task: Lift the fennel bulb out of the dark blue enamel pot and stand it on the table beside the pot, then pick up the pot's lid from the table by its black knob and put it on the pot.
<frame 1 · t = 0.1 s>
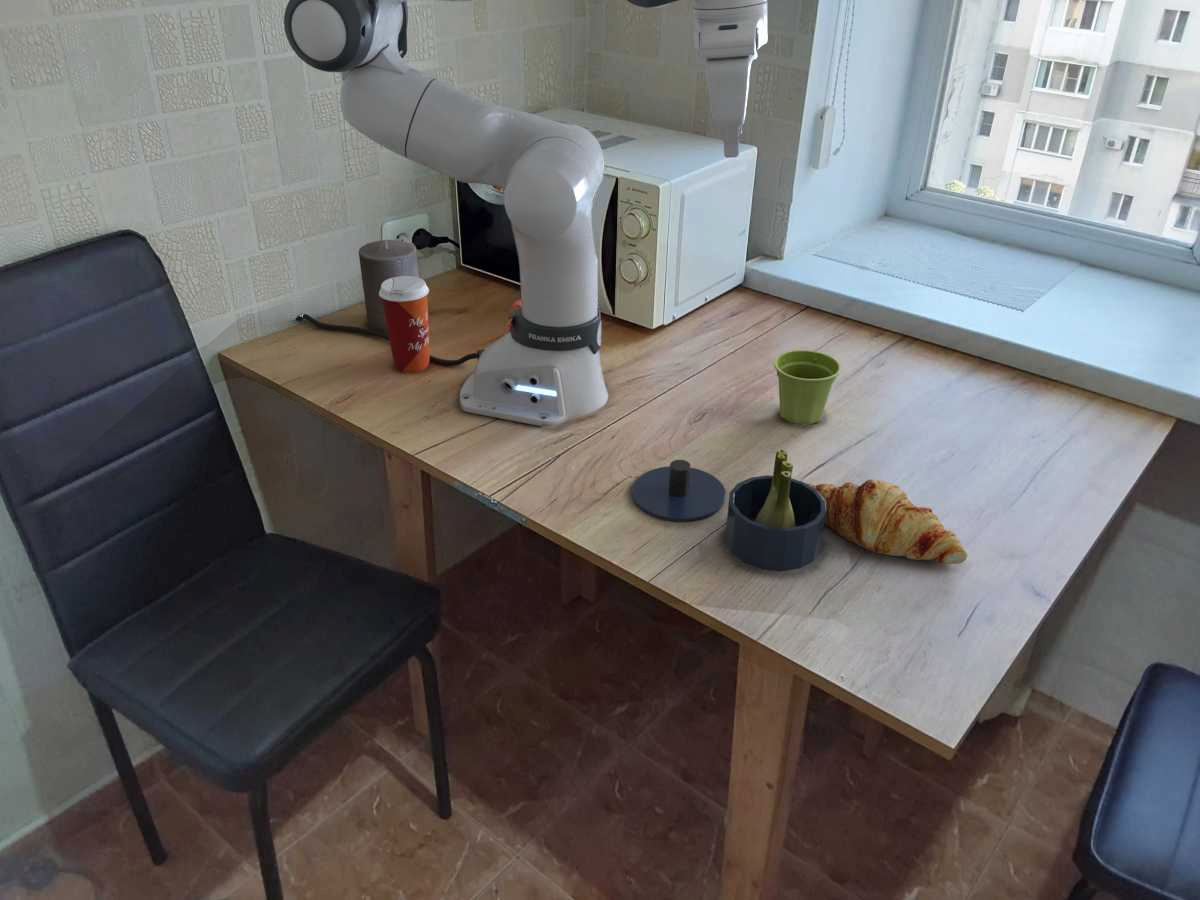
hand: (733, 146, 123), 39 cm above the table, tool pointing down, fingers open, 8 cm apart
pillar candle: (396, 324, 170), on the table
lid: (678, 494, 124), point 1 cm above the table
paper cup: (412, 365, 156), on the table
pot: (771, 544, 116), on the table
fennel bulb: (772, 544, 116), resting on pot
croissant: (877, 538, 117), on the table
plant pot: (800, 417, 142), on the table
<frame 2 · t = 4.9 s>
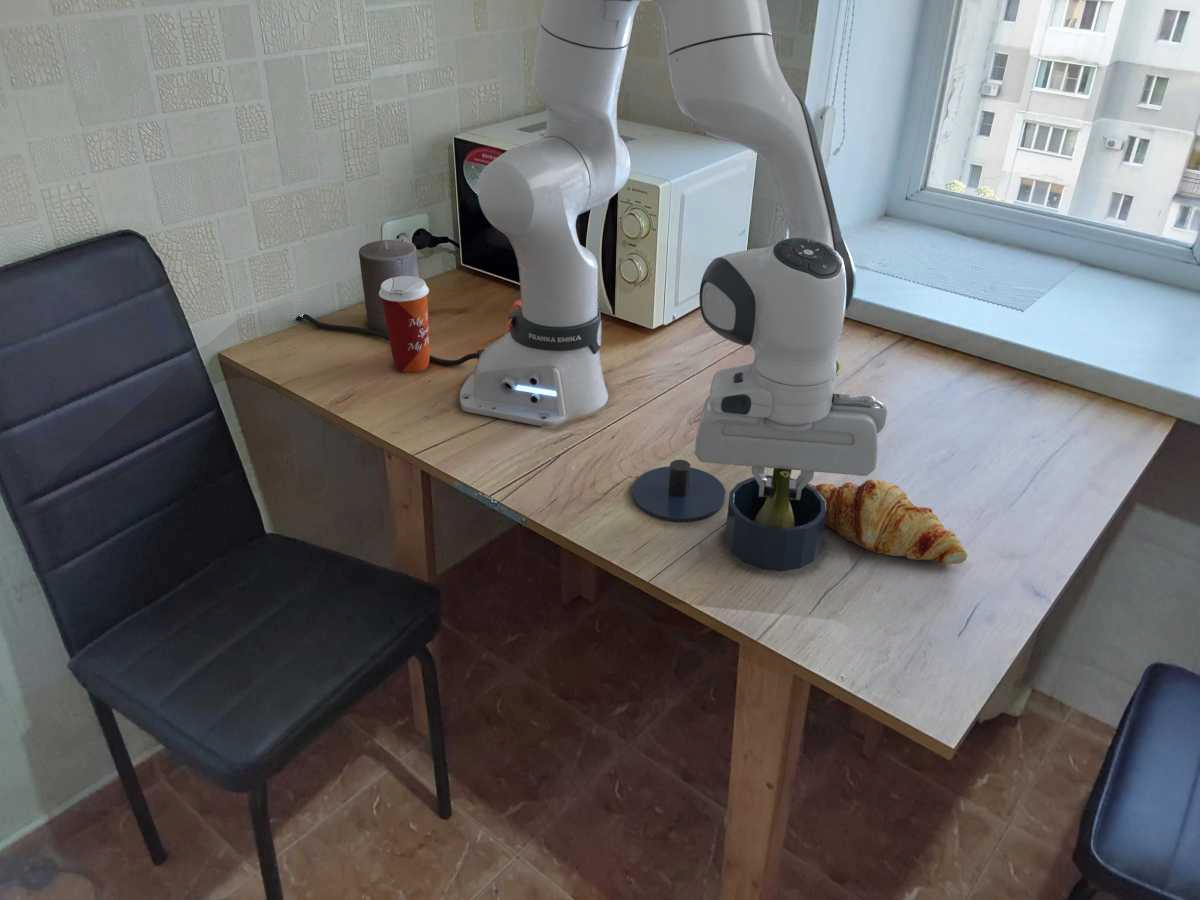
hand: (778, 495, 112), 7 cm above the table, tool pointing down, fingers closed on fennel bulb
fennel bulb: (771, 543, 116), resting on pot, touching gripper
everything else where it was.
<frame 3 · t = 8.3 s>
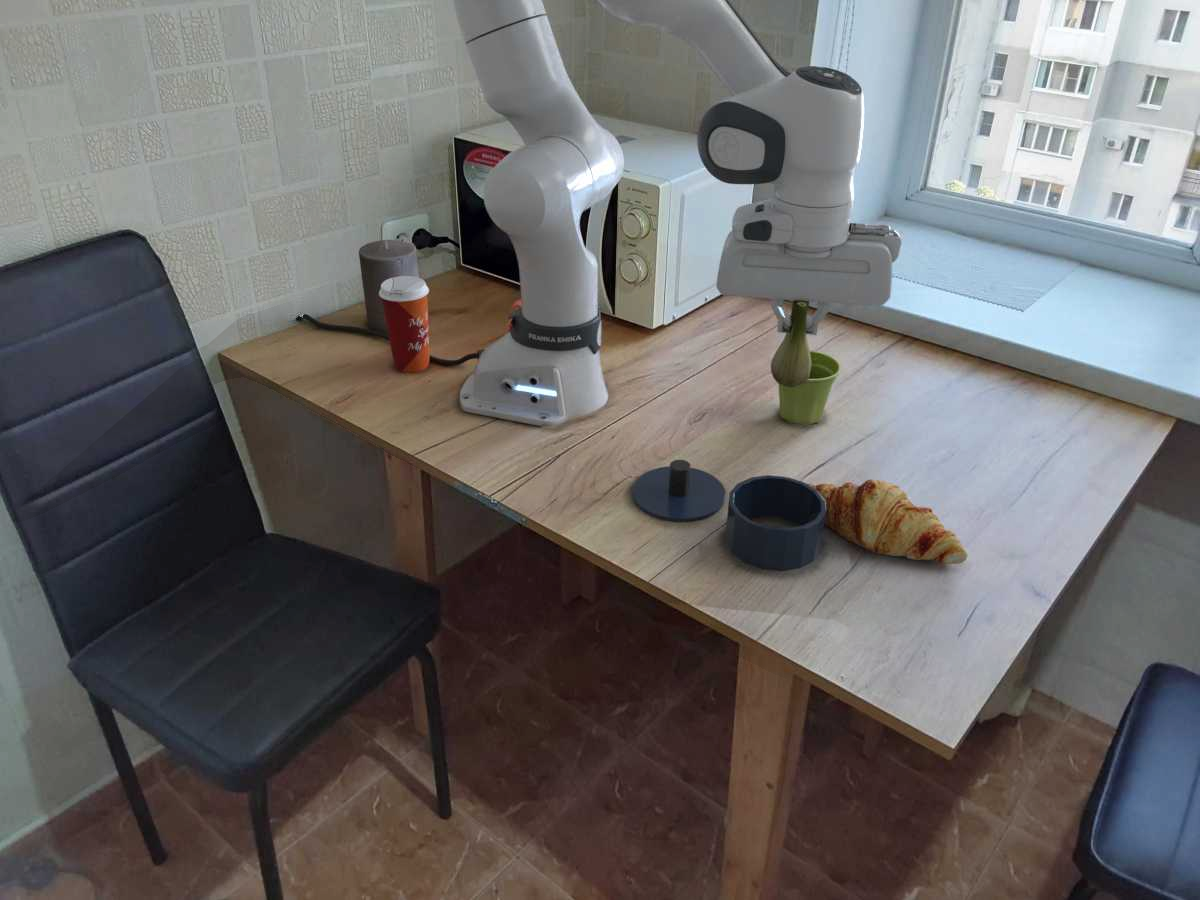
hand: (796, 331, 117), 21 cm above the table, tool pointing down, fingers closed on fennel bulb
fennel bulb: (788, 382, 121), point 14 cm above the table, touching gripper
everything else where it was.
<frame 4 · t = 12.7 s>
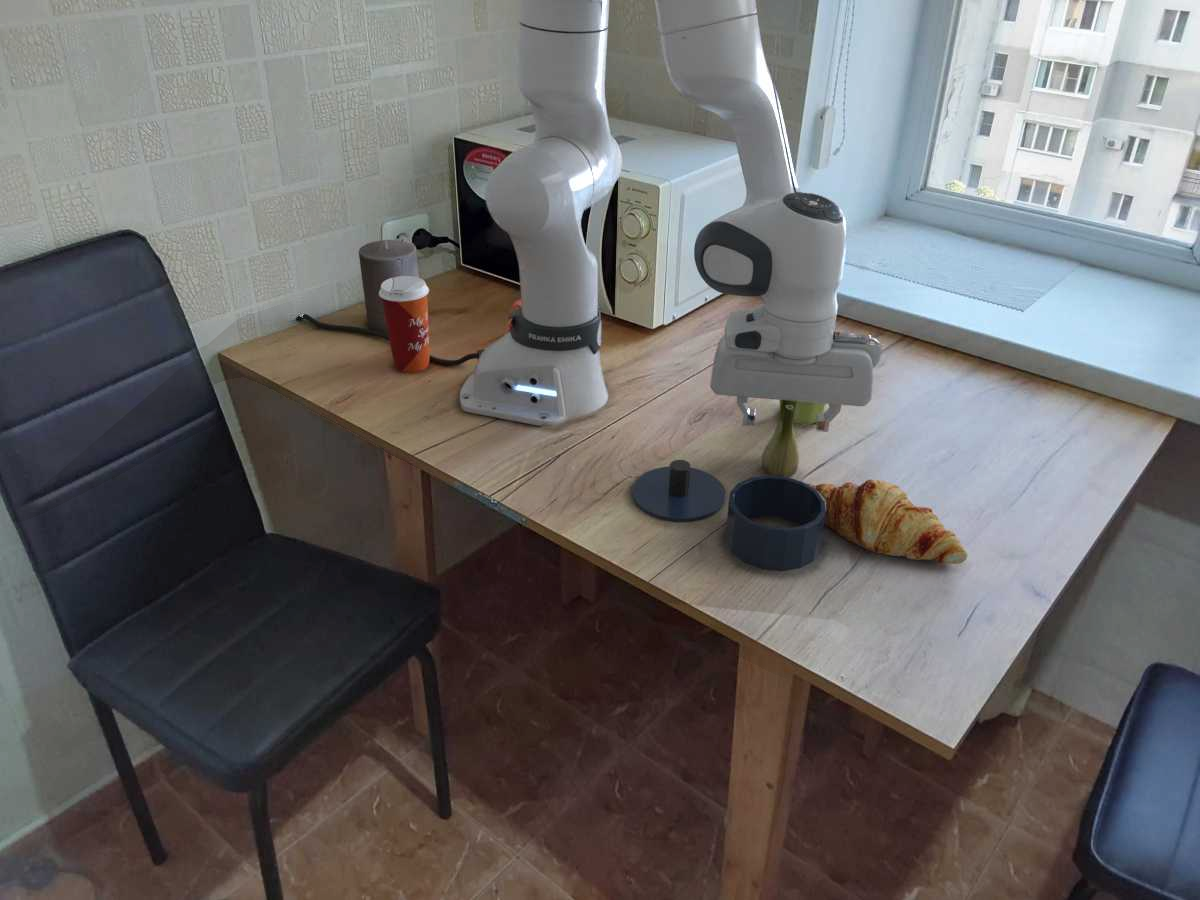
hand: (784, 426, 125), 7 cm above the table, tool pointing down, fingers open, 8 cm apart
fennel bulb: (778, 474, 129), on the table
everything else where it was.
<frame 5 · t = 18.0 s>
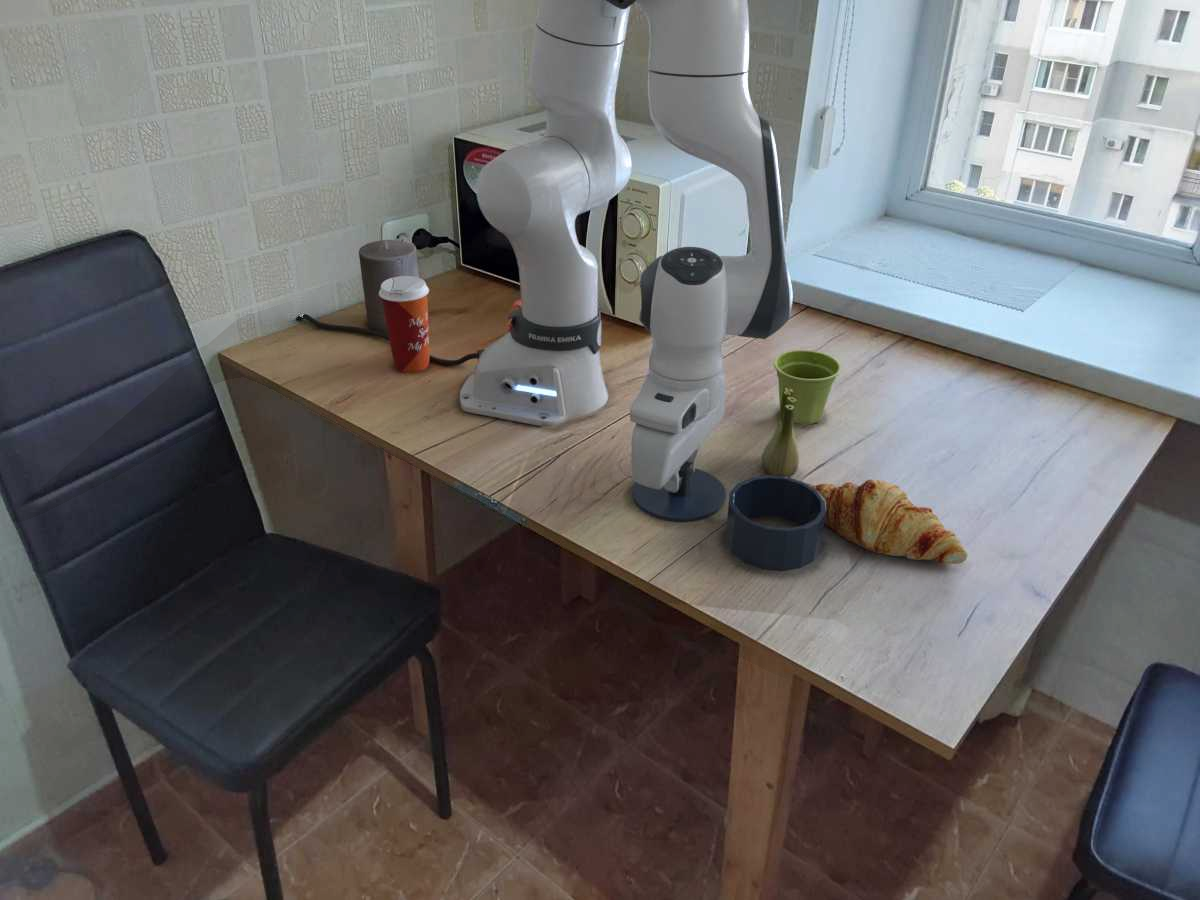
hand: (679, 481, 123), 3 cm above the table, tool pointing down, fingers closed on lid, 2 cm apart
lid: (678, 494, 124), point 1 cm above the table, touching gripper
everything else where it was.
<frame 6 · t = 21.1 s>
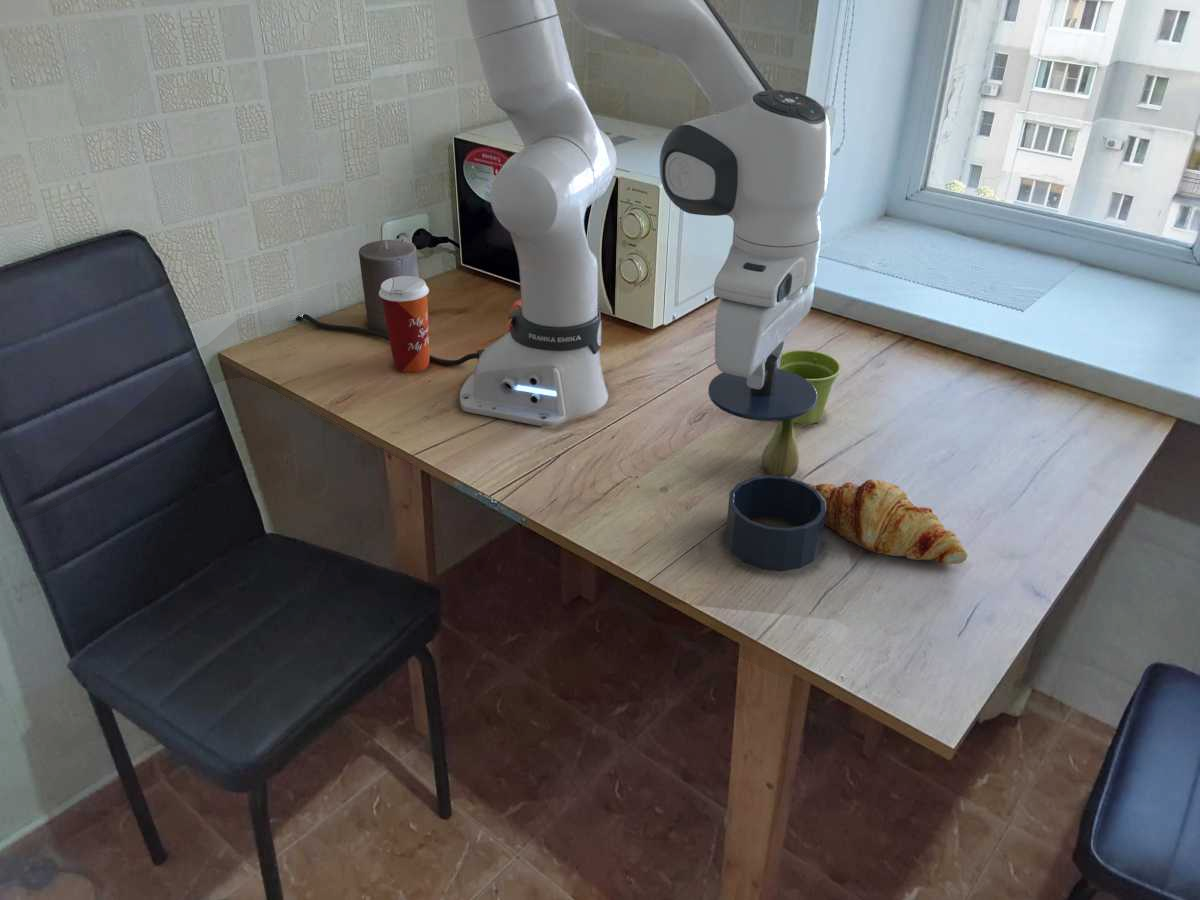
hand: (762, 378, 107), 21 cm above the table, tool pointing down, fingers closed on lid, 2 cm apart
lid: (762, 394, 108), point 19 cm above the table, touching gripper
everything else where it was.
when the fingers open (8 cm above the table, at t = 24.6 s): lid stays where it is, resting on pot.
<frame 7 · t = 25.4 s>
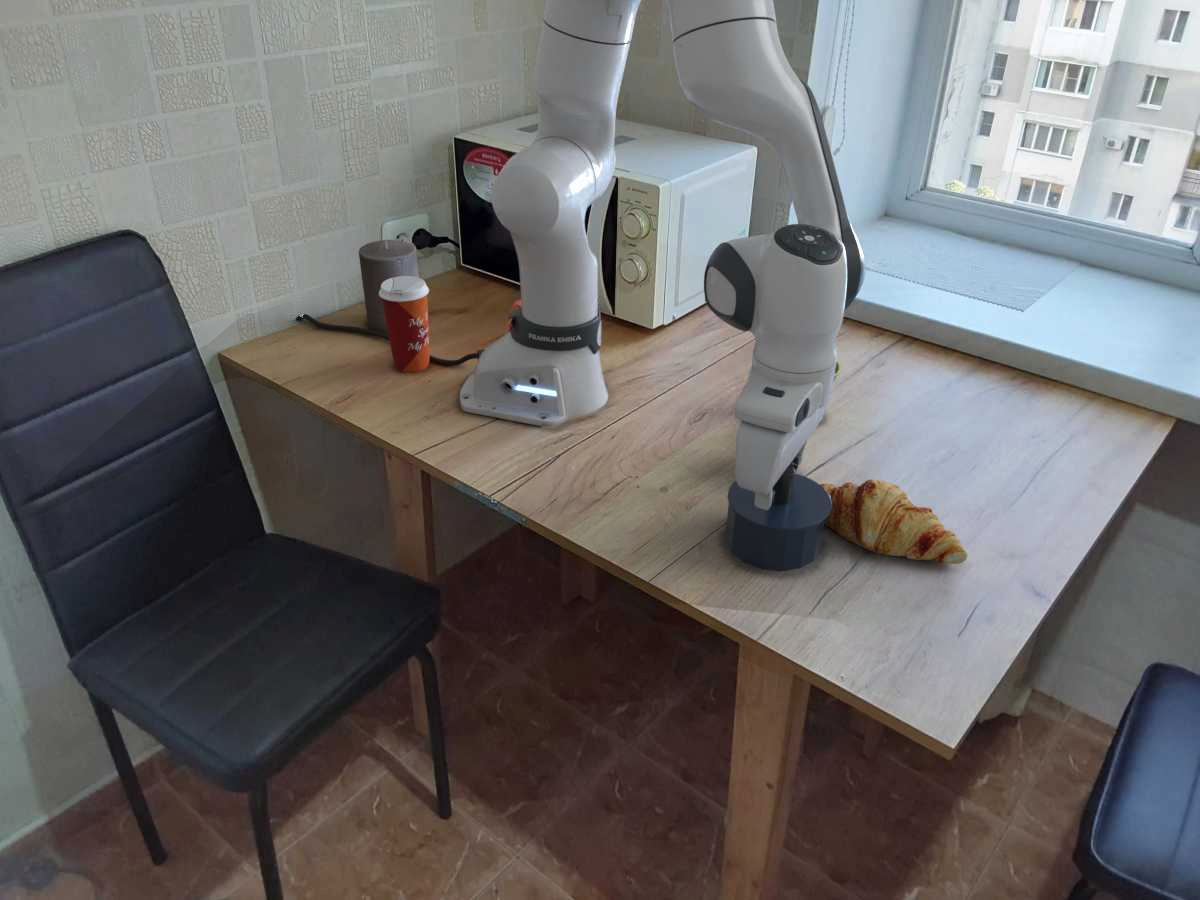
hand: (778, 485, 111), 9 cm above the table, tool pointing down, fingers open, 8 cm apart
lid: (779, 501, 113), point 6 cm above the table, touching pot
everything else where it was.
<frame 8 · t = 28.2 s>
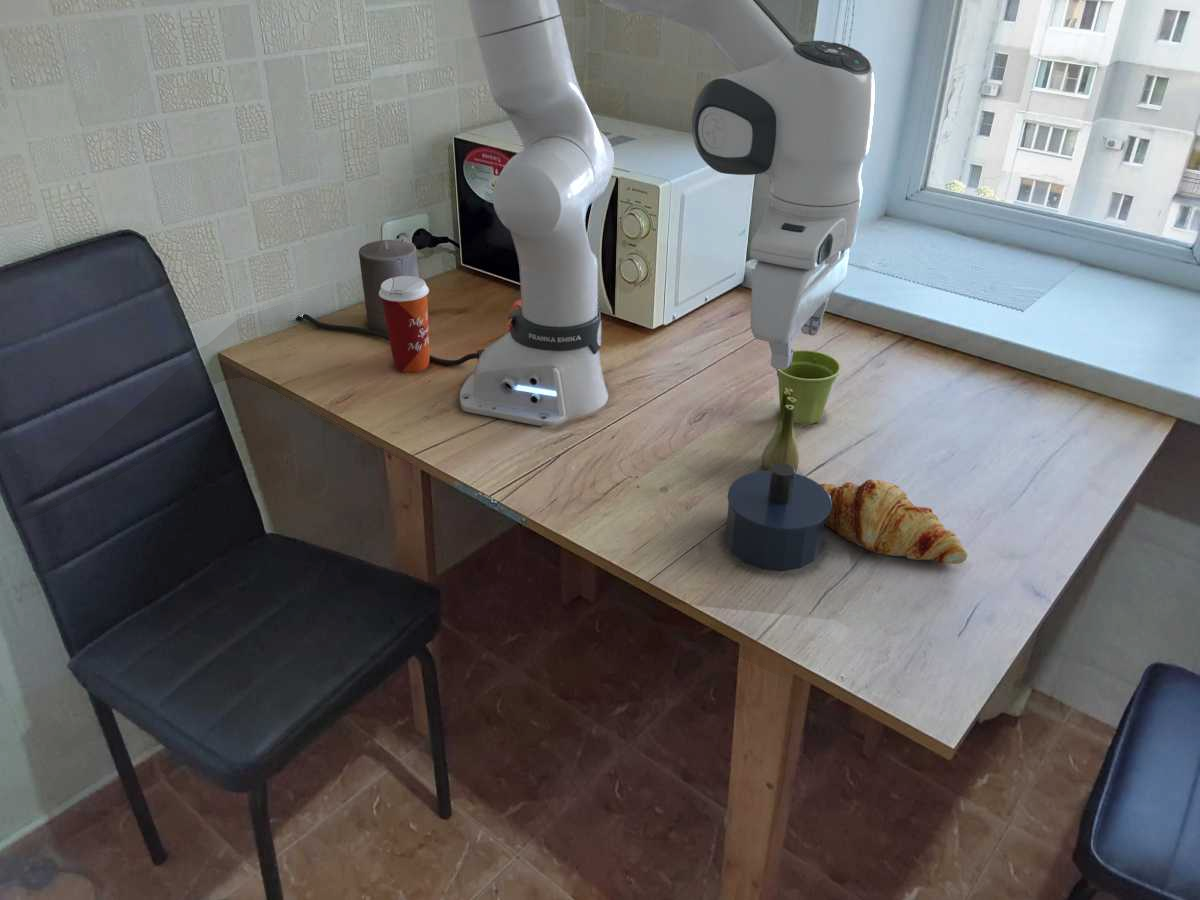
hand: (796, 348, 102), 26 cm above the table, tool pointing down, fingers open, 8 cm apart
nothing on the table moved.
at the end: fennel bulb inside the target area (0.3 cm from its centre), on the table; lid 0.2 cm off-centre on the pot, point 6.3 cm above the pot's base; lid tilted 0° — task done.
